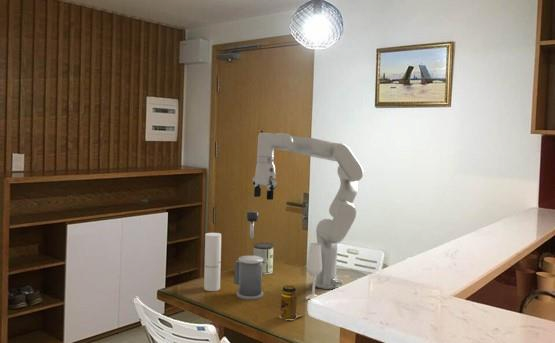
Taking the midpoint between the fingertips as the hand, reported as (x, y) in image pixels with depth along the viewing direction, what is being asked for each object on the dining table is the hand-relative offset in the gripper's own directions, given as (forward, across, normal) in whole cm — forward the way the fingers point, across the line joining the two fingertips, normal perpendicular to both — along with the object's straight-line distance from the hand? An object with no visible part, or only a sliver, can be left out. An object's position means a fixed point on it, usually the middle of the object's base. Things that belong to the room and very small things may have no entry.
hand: (263, 198), depth 222 cm
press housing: (+42, -4, +9) cm, 43 cm away
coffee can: (+42, +22, -18) cm, 51 cm away
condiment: (+42, -34, +9) cm, 55 cm away
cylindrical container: (+43, +12, +18) cm, 48 cm away
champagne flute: (+42, -22, -13) cm, 49 cm away
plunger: (+17, -5, +9) cm, 19 cm away
